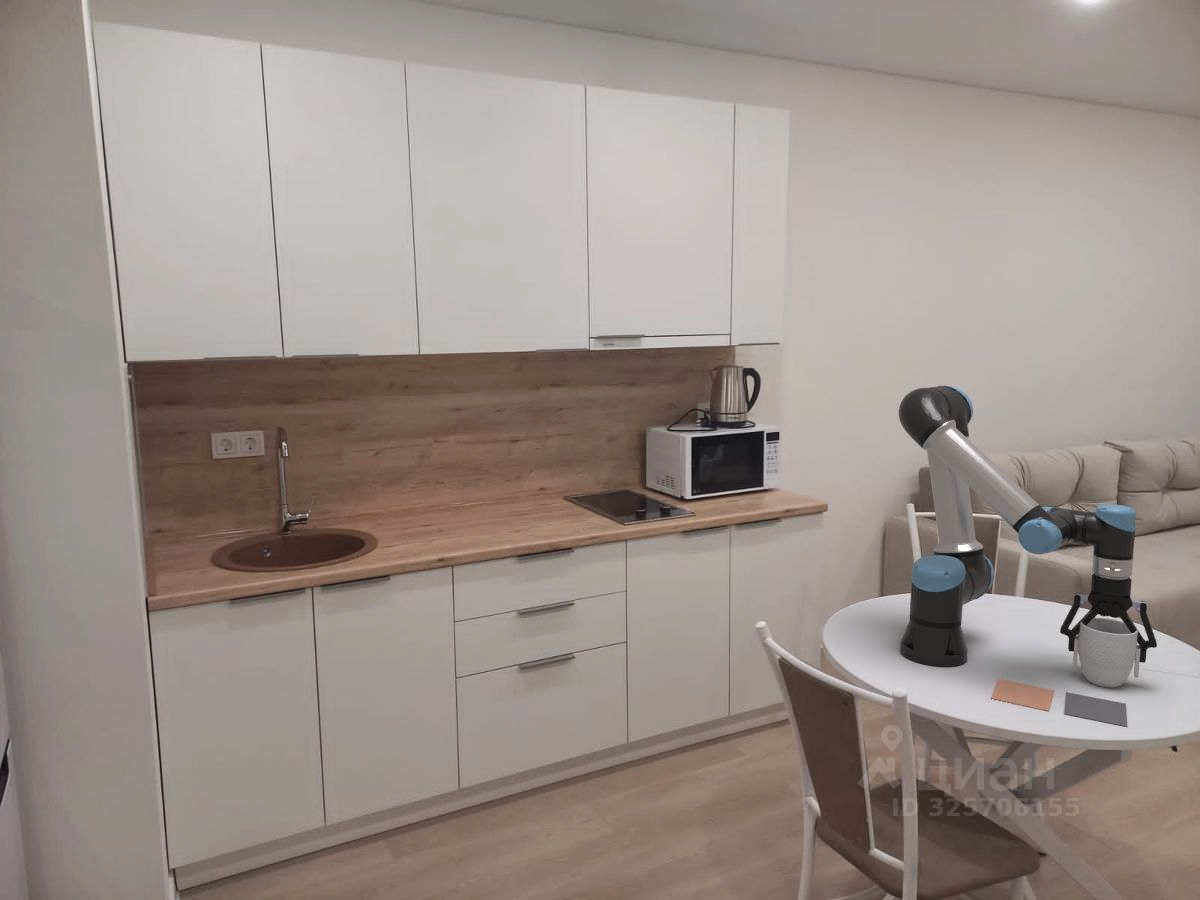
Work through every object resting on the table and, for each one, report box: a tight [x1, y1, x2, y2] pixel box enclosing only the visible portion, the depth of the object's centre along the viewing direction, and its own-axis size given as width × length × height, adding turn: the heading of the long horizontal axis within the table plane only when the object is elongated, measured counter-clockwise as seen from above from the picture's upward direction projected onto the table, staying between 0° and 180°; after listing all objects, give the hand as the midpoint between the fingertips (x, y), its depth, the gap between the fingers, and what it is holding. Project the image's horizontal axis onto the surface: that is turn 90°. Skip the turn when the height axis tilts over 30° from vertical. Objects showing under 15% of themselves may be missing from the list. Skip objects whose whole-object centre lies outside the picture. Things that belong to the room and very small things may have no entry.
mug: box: [1077, 617, 1139, 689], centre depth 188 cm, size 15×11×13 cm
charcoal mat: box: [1063, 691, 1128, 728], centre depth 174 cm, size 11×12×1 cm
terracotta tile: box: [990, 678, 1055, 713], centre depth 180 cm, size 11×12×1 cm
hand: (1104, 670), depth 188 cm, fingers closed on mug, 11 cm apart
